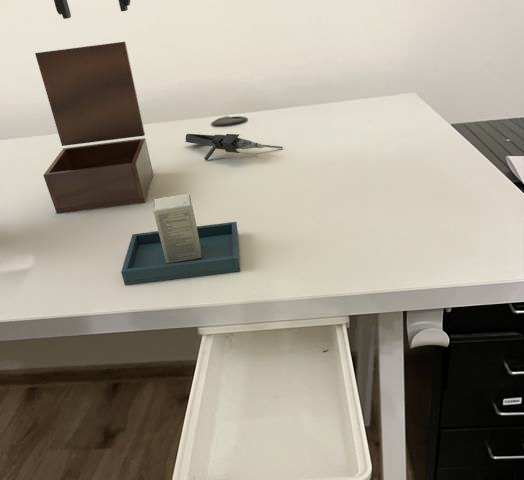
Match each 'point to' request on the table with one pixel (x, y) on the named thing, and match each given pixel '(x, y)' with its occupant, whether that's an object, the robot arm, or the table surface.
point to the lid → (91, 93)
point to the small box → (177, 228)
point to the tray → (212, 261)
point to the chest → (100, 176)
